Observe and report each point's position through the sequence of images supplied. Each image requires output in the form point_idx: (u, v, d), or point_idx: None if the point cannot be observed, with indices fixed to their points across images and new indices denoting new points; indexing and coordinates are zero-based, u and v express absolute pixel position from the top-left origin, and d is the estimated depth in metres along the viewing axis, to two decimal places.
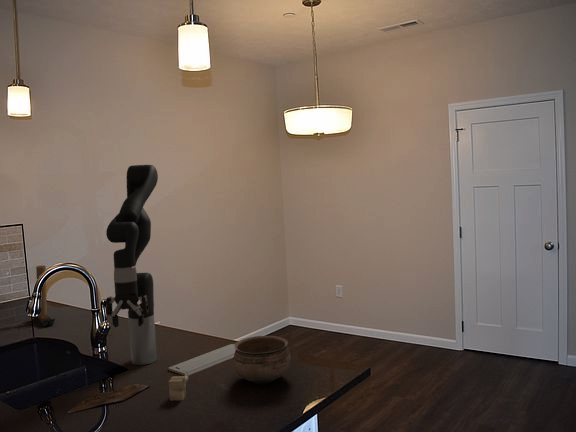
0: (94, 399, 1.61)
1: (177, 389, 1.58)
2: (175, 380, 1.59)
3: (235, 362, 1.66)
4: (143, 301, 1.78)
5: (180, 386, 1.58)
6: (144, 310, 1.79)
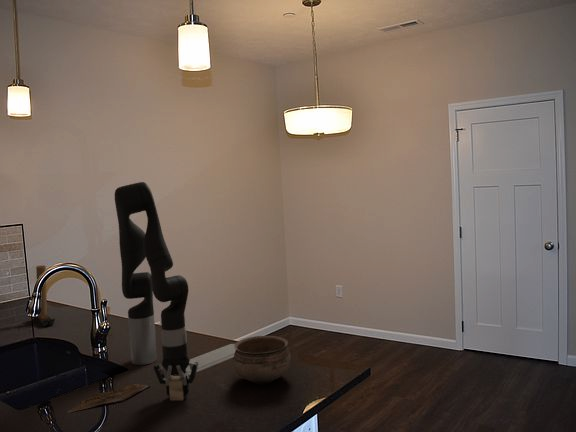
0: (94, 399, 1.61)
1: (177, 389, 1.58)
2: (175, 380, 1.59)
3: (235, 362, 1.66)
4: (193, 370, 1.58)
5: (180, 386, 1.58)
6: (190, 379, 1.59)
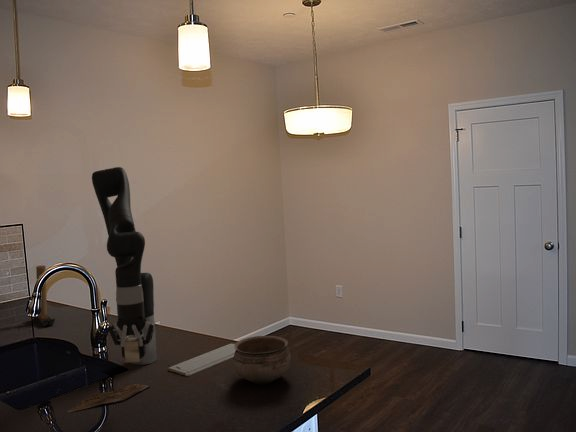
0: (94, 399, 1.61)
1: (133, 350, 1.51)
2: (131, 341, 1.51)
3: (235, 362, 1.66)
4: (150, 330, 1.51)
5: (136, 347, 1.51)
6: (147, 340, 1.51)
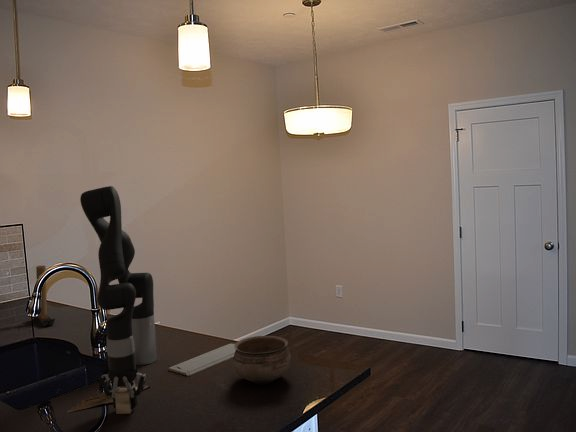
0: (94, 399, 1.62)
1: (124, 402, 1.51)
2: (122, 392, 1.51)
3: (235, 362, 1.66)
4: (140, 381, 1.51)
5: (127, 399, 1.51)
6: (138, 391, 1.51)
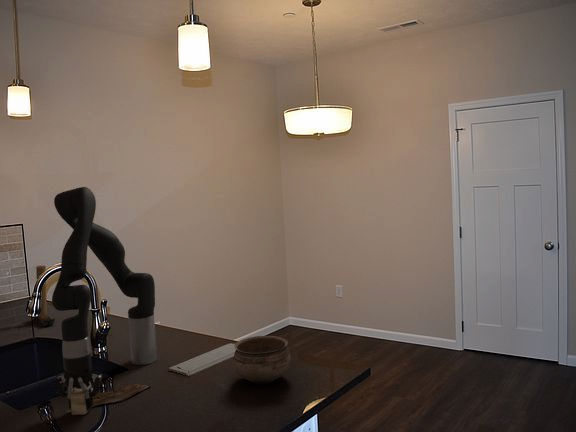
0: (94, 399, 1.62)
1: (79, 403, 1.52)
2: (77, 393, 1.52)
3: (235, 362, 1.66)
4: (96, 382, 1.52)
5: (82, 400, 1.52)
6: (93, 392, 1.52)
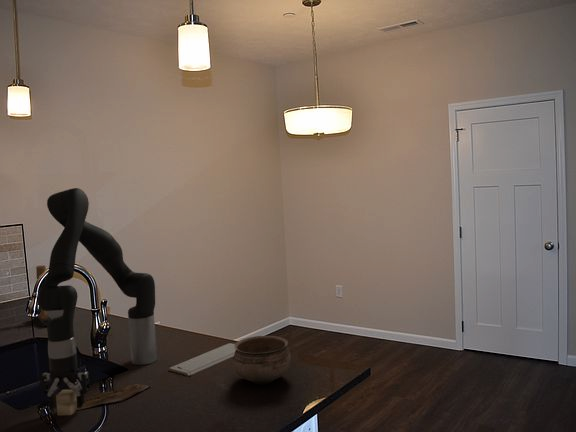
0: (94, 399, 1.62)
1: (65, 403, 1.52)
2: (63, 394, 1.53)
3: (235, 362, 1.66)
4: (83, 379, 1.52)
5: (68, 400, 1.52)
6: (83, 390, 1.52)
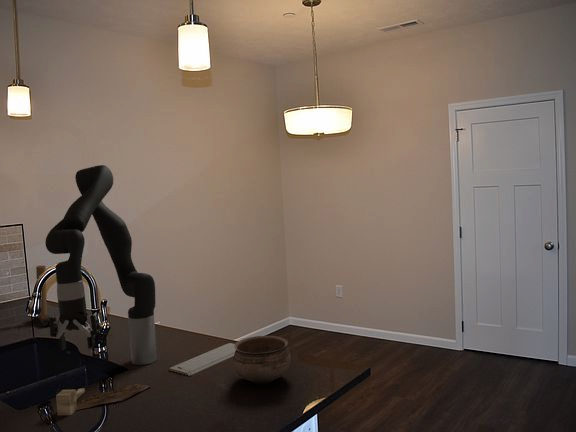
0: (94, 399, 1.62)
1: (65, 403, 1.52)
2: (63, 394, 1.53)
3: (235, 362, 1.66)
4: (92, 320, 1.54)
5: (68, 400, 1.52)
6: (94, 331, 1.55)
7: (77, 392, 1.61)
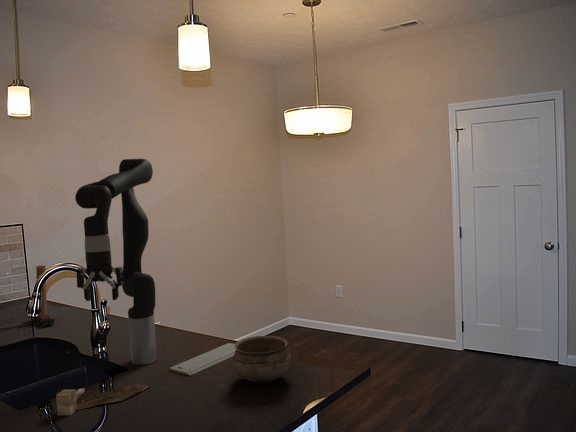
0: (94, 399, 1.62)
1: (65, 403, 1.52)
2: (63, 394, 1.53)
3: (235, 362, 1.66)
4: (117, 272, 1.63)
5: (68, 400, 1.52)
6: (118, 282, 1.63)
7: (77, 392, 1.61)
